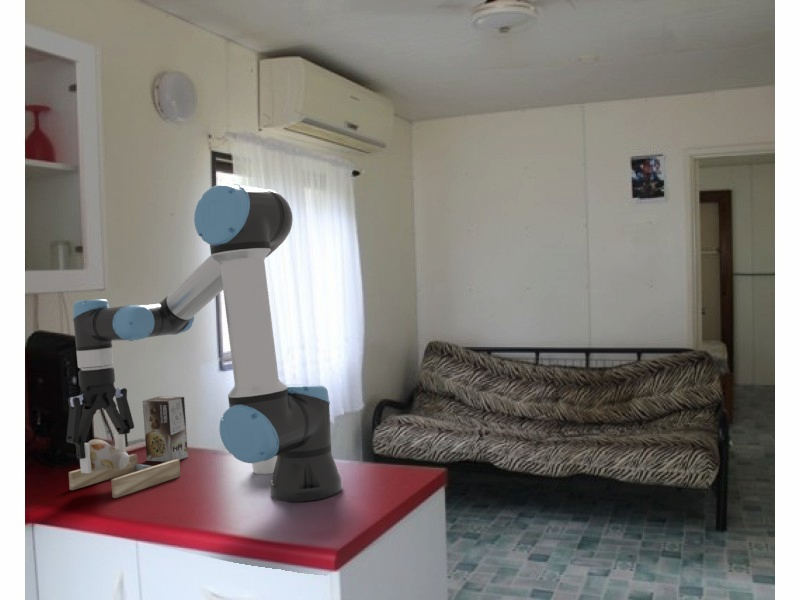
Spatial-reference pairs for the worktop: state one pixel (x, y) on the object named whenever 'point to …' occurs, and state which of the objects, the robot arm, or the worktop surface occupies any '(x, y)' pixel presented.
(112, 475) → the bay
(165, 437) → the cookie box
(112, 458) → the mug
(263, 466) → the cup
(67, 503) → the worktop surface
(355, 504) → the worktop surface
